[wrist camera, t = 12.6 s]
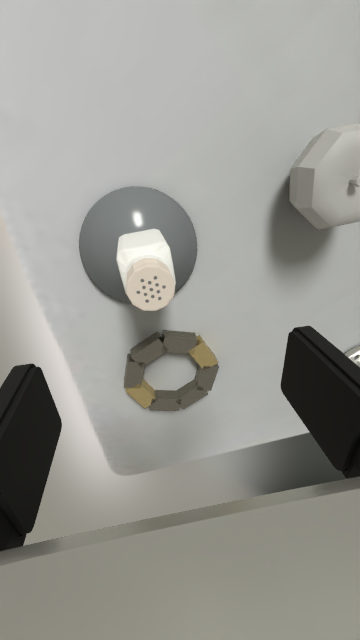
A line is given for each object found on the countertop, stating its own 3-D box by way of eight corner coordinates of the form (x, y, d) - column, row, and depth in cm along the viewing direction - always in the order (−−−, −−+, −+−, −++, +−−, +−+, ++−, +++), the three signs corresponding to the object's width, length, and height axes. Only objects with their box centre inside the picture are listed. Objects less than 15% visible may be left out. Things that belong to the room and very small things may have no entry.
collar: (227, 372, 35) (231, 379, 34) (160, 414, 37) (161, 422, 36) (183, 314, 30) (185, 320, 29) (106, 365, 32) (105, 374, 30)
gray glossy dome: (215, 261, 28) (216, 263, 27) (130, 320, 29) (130, 323, 29) (152, 158, 22) (153, 157, 22) (53, 236, 24) (51, 237, 23)
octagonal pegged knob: (355, 193, 27) (416, 199, 21) (286, 238, 28) (326, 255, 22) (337, 107, 23) (405, 86, 17) (257, 162, 24) (297, 159, 18)
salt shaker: (159, 226, 25) (176, 253, 16) (167, 267, 27) (185, 310, 18) (116, 234, 24) (111, 266, 16) (127, 275, 26) (128, 322, 18)
